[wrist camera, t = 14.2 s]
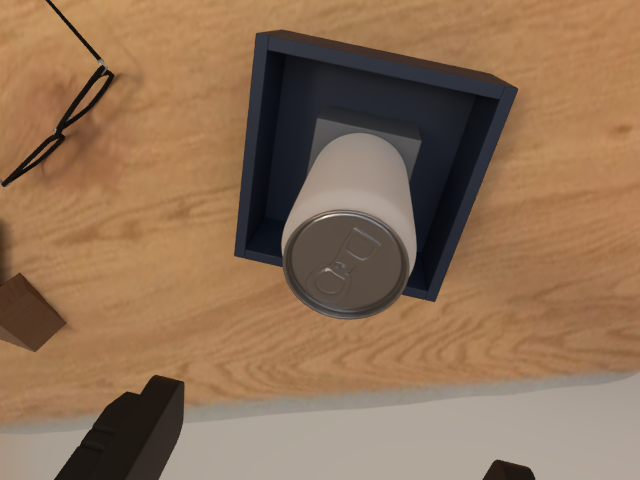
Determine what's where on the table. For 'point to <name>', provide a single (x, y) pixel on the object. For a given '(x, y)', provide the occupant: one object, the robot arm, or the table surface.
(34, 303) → the wooden block set
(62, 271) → the table surface
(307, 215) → the can
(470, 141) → the crate
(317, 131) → the grey block
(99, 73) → the eyeglasses
